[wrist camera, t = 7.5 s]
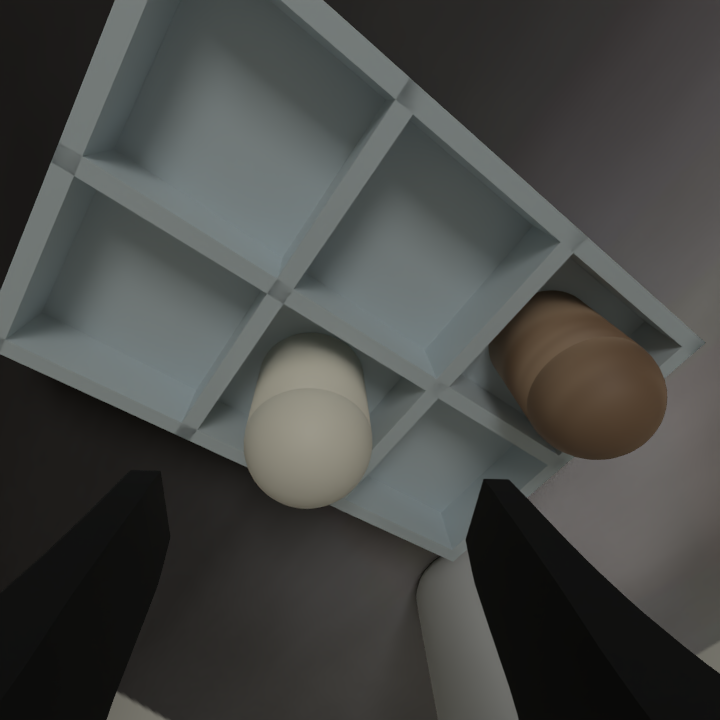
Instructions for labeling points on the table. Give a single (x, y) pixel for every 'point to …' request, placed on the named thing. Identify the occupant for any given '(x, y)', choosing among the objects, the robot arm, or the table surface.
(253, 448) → the cream egg
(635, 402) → the walnut egg
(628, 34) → the table surface
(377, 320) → the egg carton
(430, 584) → the milk bottle
